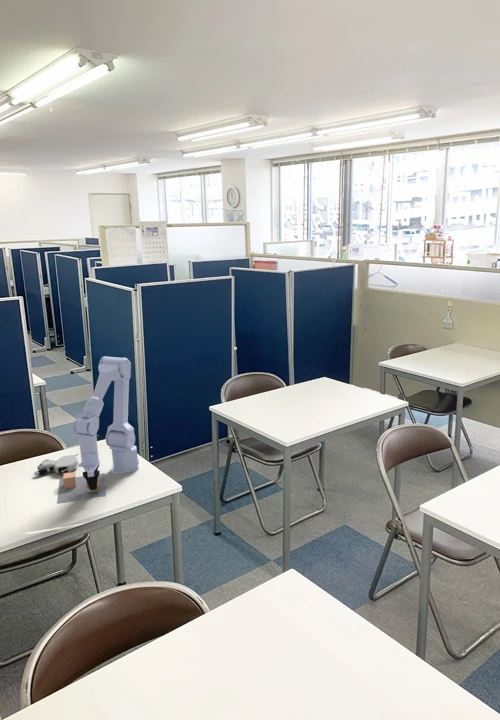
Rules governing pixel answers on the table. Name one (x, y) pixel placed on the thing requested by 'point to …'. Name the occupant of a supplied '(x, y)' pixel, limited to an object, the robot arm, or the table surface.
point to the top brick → (93, 490)
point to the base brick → (69, 480)
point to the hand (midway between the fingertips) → (93, 486)
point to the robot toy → (58, 465)
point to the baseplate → (80, 490)
